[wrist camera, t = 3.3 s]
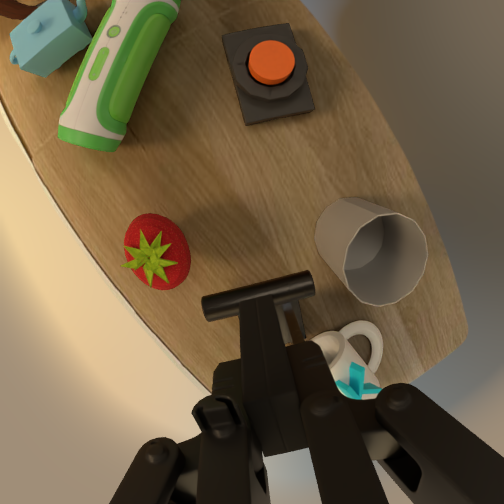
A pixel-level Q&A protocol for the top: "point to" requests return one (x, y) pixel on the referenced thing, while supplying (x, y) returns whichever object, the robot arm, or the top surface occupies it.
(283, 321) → the bracket
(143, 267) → the strawberry
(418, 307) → the top surface
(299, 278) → the lever
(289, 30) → the control block
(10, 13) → the knife
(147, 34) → the speaker
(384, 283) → the cup
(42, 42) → the teapot
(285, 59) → the button
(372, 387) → the white handled jug
